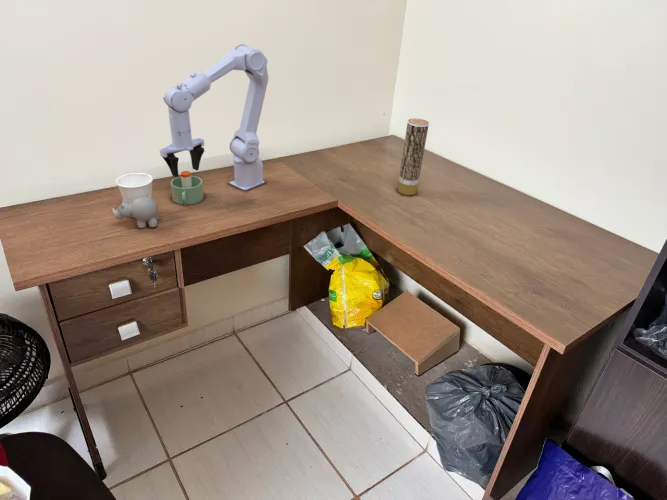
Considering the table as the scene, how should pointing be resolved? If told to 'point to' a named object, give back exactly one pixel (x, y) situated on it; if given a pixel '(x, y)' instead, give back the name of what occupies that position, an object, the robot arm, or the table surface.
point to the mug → (187, 191)
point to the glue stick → (186, 179)
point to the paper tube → (412, 156)
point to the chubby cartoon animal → (139, 211)
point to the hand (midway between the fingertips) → (185, 172)
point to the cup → (135, 186)
